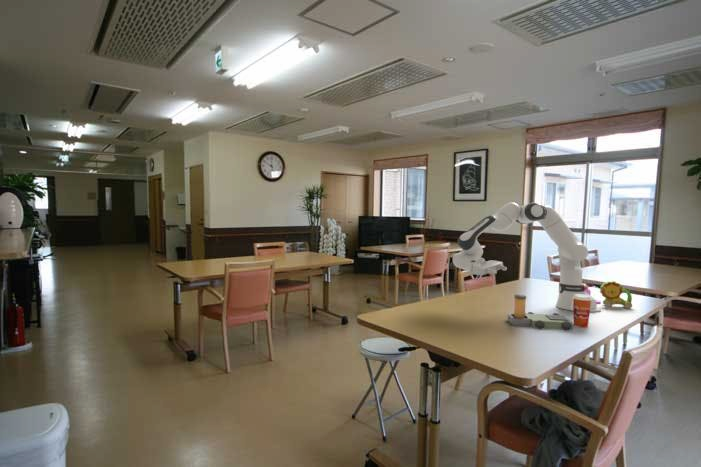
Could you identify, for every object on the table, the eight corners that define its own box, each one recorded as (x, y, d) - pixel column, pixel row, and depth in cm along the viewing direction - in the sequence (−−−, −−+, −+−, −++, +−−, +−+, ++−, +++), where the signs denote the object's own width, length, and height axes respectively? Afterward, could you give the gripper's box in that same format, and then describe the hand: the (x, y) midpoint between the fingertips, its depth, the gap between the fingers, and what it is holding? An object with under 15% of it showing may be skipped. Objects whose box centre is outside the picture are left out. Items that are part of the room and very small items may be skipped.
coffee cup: (571, 326, 190) (573, 296, 189) (570, 322, 197) (572, 293, 196) (591, 329, 186) (593, 298, 185) (590, 324, 193) (591, 295, 192)
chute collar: (526, 321, 198) (526, 314, 198) (531, 326, 189) (531, 319, 189) (507, 320, 200) (507, 313, 199) (512, 325, 191) (512, 318, 190)
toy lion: (628, 306, 229) (630, 281, 228) (632, 309, 224) (633, 283, 223) (598, 304, 234) (599, 279, 233) (600, 306, 229) (602, 281, 228)
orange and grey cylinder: (521, 321, 197) (522, 294, 196) (527, 324, 192) (528, 297, 191) (511, 321, 197) (512, 294, 196) (516, 325, 191) (518, 297, 190)
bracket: (578, 299, 248) (578, 288, 247) (585, 298, 249) (585, 288, 249) (595, 304, 235) (595, 292, 235) (602, 303, 237) (603, 292, 236)
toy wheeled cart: (561, 321, 199) (561, 313, 198) (573, 330, 183) (574, 322, 183) (524, 319, 201) (524, 311, 201) (533, 328, 186) (533, 320, 186)
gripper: (489, 267, 221) (511, 272, 210) (467, 274, 209) (489, 280, 198) (489, 256, 219) (512, 261, 209) (467, 262, 207) (490, 268, 197)
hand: (501, 270), depth 203 cm, fingers open, 8 cm apart
